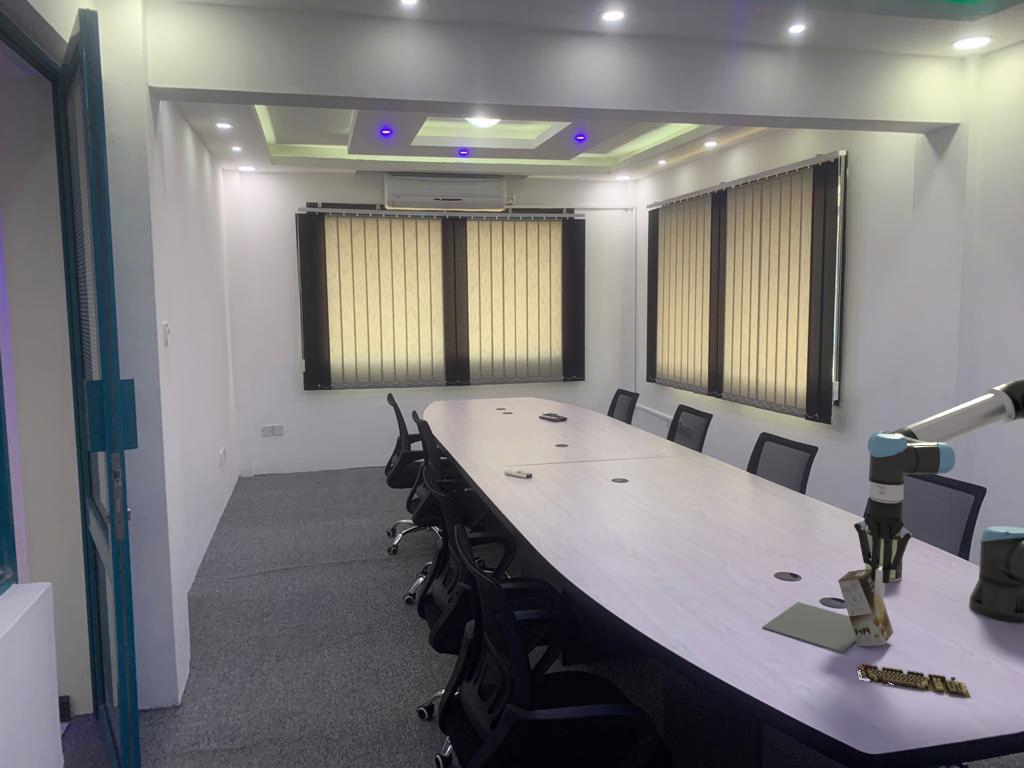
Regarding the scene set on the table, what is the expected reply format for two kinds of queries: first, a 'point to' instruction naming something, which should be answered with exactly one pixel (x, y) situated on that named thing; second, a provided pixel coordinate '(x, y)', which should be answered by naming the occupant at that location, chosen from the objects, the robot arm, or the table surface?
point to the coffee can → (894, 574)
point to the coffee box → (865, 608)
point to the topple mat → (815, 627)
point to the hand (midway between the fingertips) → (879, 594)
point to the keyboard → (914, 680)
